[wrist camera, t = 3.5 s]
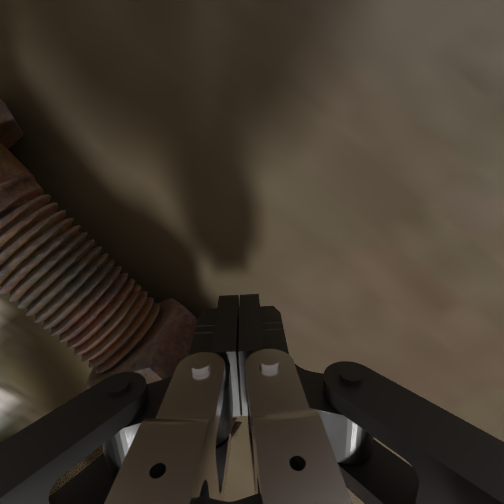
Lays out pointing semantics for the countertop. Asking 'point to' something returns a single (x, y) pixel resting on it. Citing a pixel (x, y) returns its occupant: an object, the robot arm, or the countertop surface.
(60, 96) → the countertop surface
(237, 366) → the robot arm
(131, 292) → the bolt
